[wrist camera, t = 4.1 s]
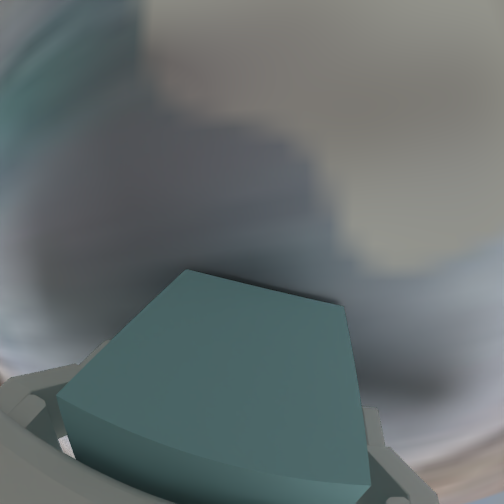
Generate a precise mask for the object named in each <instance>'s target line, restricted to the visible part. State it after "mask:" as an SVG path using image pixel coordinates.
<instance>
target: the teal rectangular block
mask: <svg viewBox="0 0 504 504" xmlns="http://www.w3.org/2000/svg"><path fill="white" fill-rule="evenodd" d="M56 398H57V402H58V406H59V409H60V413H61V416H62V419H63V423H64V426H65V429H66V432H67V435H68V438H69V441H70V444H71V447H72V450H73V453H74V455H75V458H76V460H78V461H79V462H81V463H83V464H85V465H87V466H89V467H91V468H93V469H95V470H97V471H99V472H101V473H103V474H105V475H107V476H109V477H111V478H113V479H115V480H118V481H120V482H122V483H124V484H127V485H129V486H131V487H134V488H136V489H139V490H141V491H144V492H146V493H149V494H151V495H154V496H157V497H159V498H162V499H165V500H168V501H171V502H174V503H177V504H355V503H356V502H357V501H358V500H359V499H360V498H361V497H362V495H363V494H364V493H365V492H366V491H367V490H368V489H369V488H370V486H371V478H370V468H369V459H368V450H367V442H366V434H365V426H364V419H363V412H362V405H361V399H360V392H359V386H358V380H357V374H356V368H355V362H354V357H353V351H352V346H351V341H350V335H349V330H348V325H347V320H346V315H345V310H344V306H340V305H335V304H331V303H326V302H322V301H317V300H313V299H308V298H304V297H300V296H295V295H291V294H287V293H282V292H278V291H274V290H269V289H265V288H261V287H257V286H253V285H249V284H244V283H240V282H236V281H232V280H228V279H224V278H220V277H216V276H212V275H208V274H204V273H200V272H196V271H192V270H188V269H186V270H184V271H183V272H182V273H181V274H180V275H179V276H178V277H177V278H176V279H175V280H174V281H173V282H172V283H171V284H169V285H168V286H167V287H166V288H165V289H164V290H163V291H162V292H161V293H160V294H159V295H158V296H157V297H156V298H155V299H153V300H152V301H151V302H150V303H149V304H148V305H147V306H146V307H145V308H144V309H143V310H142V311H141V312H140V313H139V314H138V315H137V316H136V317H135V318H134V319H132V320H131V321H130V322H129V323H128V324H127V325H126V326H125V327H124V328H123V329H122V330H121V331H120V332H119V333H118V334H117V335H116V336H115V337H114V338H113V339H112V340H111V341H110V342H109V343H108V344H107V345H106V346H105V347H104V348H103V349H102V350H101V351H100V352H98V353H97V354H96V355H95V356H94V357H93V358H92V359H91V360H90V361H89V362H88V363H87V364H86V365H85V366H84V367H83V368H82V369H81V370H80V371H79V372H78V373H77V374H76V375H75V376H74V377H73V378H72V379H71V380H70V381H69V382H68V383H67V384H66V385H65V386H64V387H63V388H62V389H61V390H60V391H59V392H58V393H57V394H56Z"/></svg>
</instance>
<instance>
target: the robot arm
mask: <svg viewBox="0 0 504 504" xmlns="http://www.w3.org/2000/svg"><path fill="white" fill-rule="evenodd" d="M110 341H111V340H110V339H109V340H105V341H104V342H103V343H102V344H101V345H100V346H99V347H97V348H96V349H95V350H94V351H93V352H92V353H91V354H90V355H89V356H88V357H87V358H86V359H85V360H84V361H83V362H82V363H81V364H80V365H77V364H71V365H67V366H62V367H58V368H53V369H49V370H44V371H40V372H35V373H30V374H25V375H20V376H15V377H11V378H10V379H8V380H7V381H6V382H5V383H4V384H2V385H1V386H0V504H177V503H174V502H171V501H168V500H165V499H162V498H159V497H157V496H154V495H151V494H149V493H146V492H144V491H141V490H139V489H136V488H134V487H131V486H129V485H127V484H124V483H122V482H120V481H118V480H115V479H113V478H111V477H109V476H107V475H105V474H103V473H101V472H99V471H97V470H95V469H93V468H91V467H89V466H87V465H85V464H83V463H81V462H79V461H78V460H76V459H74V458H72V457H70V456H69V455H67V454H65V453H63V451H62V449H61V446H60V443H59V441H58V439H59V438H61V437H63V436H66V435H67V432H66V429H65V426H64V423H63V419H62V416H61V413H60V409H59V406H58V402H57V398H56V394H57V393H58V392H59V391H60V390H61V389H62V388H63V387H64V386H65V385H66V384H67V383H68V382H69V381H70V380H71V379H72V378H73V377H74V376H75V375H76V374H77V373H78V372H79V371H80V370H81V369H82V368H83V367H84V366H85V365H86V364H87V363H88V362H89V361H90V360H91V359H92V358H93V357H94V356H95V355H96V354H97V353H98V352H100V351H101V350H102V349H103V348H104V347H105V346H106V345H107V344H108V343H109V342H110ZM362 412H363V419H364V426H365V434H366V442H367V450H368V459H369V468H370V478H371V486H370V488H369V489H368V490H367V491H366V492H365V493H364V494H363V495H362V497H361V498H360V499H359V500H358V501H357V502H356V503H355V504H439V501H438V496H437V494H436V493H435V492H434V491H433V490H432V489H431V488H430V487H429V486H428V485H427V484H426V483H425V482H424V481H423V480H422V479H421V478H420V477H419V476H418V475H417V474H416V473H415V472H414V471H413V470H412V469H411V468H410V467H409V466H408V465H407V464H406V463H405V462H404V461H403V460H402V459H401V458H400V457H399V456H398V455H397V454H396V453H395V452H394V451H393V450H392V449H391V448H390V447H385V442H384V437H383V431H382V426H381V421H380V417H379V412H378V409H377V408H375V407H366V406H362Z"/></svg>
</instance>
